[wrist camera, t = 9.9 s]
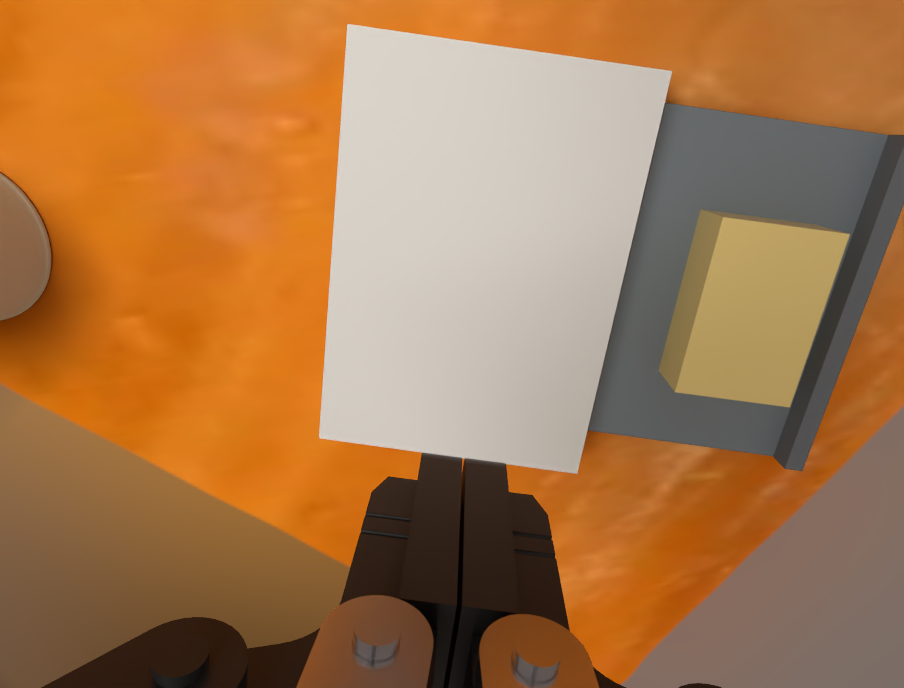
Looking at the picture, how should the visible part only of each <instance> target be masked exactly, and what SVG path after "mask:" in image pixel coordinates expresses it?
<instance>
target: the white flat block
mask: <svg viewBox="0 0 904 688" xmlns="http://www.w3.org/2000/svg"><path fill="white" fill-rule="evenodd" d="M671 75H672V71H668V70H661V69H654V68H647V67H640V66H633V65H626V64H619V63H612V62H606V61H599V60H592V59H585V58H578V57H571V56H564V55H557V54H550V53H544V52H537V51H530V50H523V49H516V48H509V47H502V46H495V45H489V44H482V43H475V42H468V41H461V40H454V39H447V38H440V37H433V36H427V35H420V34H413V33H406V32H399V31H392V30H385V29H378V28H371V27H365V26H358V25H351V24H348V25H347V39H346V54H345V68H344V83H343V97H342V112H341V126H340V141H339V155H338V170H337V185H336V199H335V214H334V228H333V243H332V257H331V272H330V286H329V301H328V315H327V330H326V345H325V359H324V374H323V388H322V403H321V417H320V432H319V438H322V439H329V440H336V441H343V442H351V443H358V444H365V445H372V446H379V447H387V448H394V449H401V450H408V451H416V452H423V453H431V454H438V455H446V456H454V457H461V458H470V459H477V460H485V461H493V462H500V463H505V464H510V465H517V466H524V467H531V468H539V469H546V470H553V471H560V472H567V473H575V474H577V472H578V468H579V464H580V460H581V456H582V451H583V447H584V443H585V439H586V434H587V430H588V426H589V422H590V417H591V413H592V409H593V405H594V401H595V396H596V392H597V388H598V384H599V379H600V375H601V371H602V367H603V362H604V358H605V354H606V350H607V345H608V341H609V337H610V333H611V329H612V324H613V320H614V316H615V312H616V307H617V303H618V299H619V295H620V290H621V286H622V282H623V278H624V274H625V269H626V265H627V261H628V257H629V252H630V248H631V244H632V240H633V235H634V231H635V227H636V223H637V219H638V214H639V210H640V206H641V202H642V197H643V193H644V189H645V185H646V180H647V176H648V172H649V168H650V163H651V159H652V155H653V151H654V147H655V142H656V138H657V134H658V130H659V125H660V121H661V117H662V113H663V108H664V104H665V100H666V96H667V92H668V87H669V83H670V79H671Z"/></svg>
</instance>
